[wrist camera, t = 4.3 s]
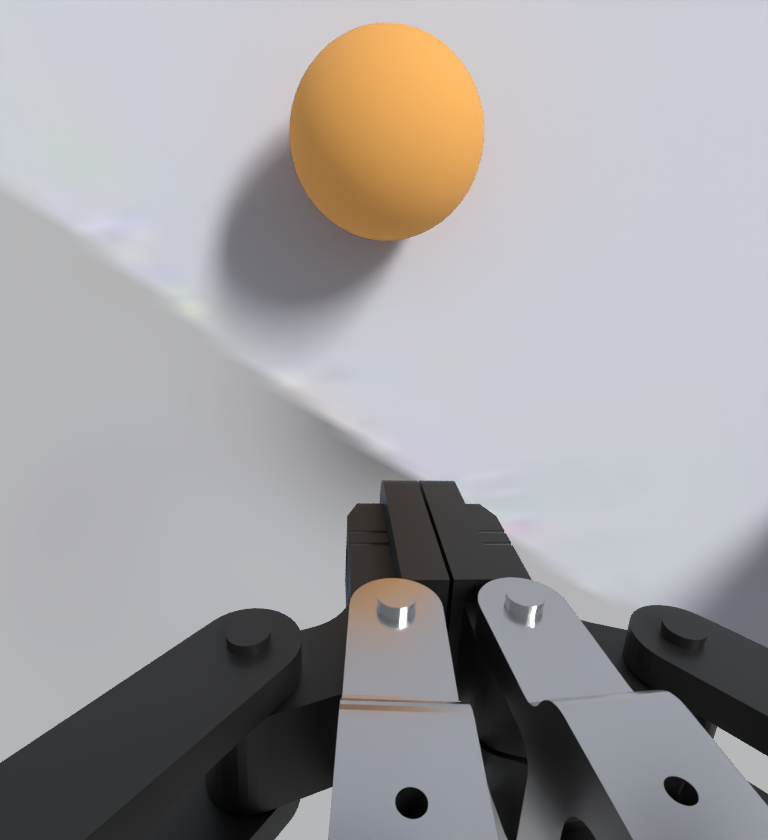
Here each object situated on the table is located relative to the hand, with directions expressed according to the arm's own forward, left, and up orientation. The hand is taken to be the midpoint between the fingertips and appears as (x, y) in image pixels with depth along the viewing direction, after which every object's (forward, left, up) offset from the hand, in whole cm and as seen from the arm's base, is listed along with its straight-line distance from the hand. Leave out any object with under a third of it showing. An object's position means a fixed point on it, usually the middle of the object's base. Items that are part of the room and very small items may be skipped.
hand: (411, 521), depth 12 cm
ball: (+6, -6, -9) cm, 12 cm away
